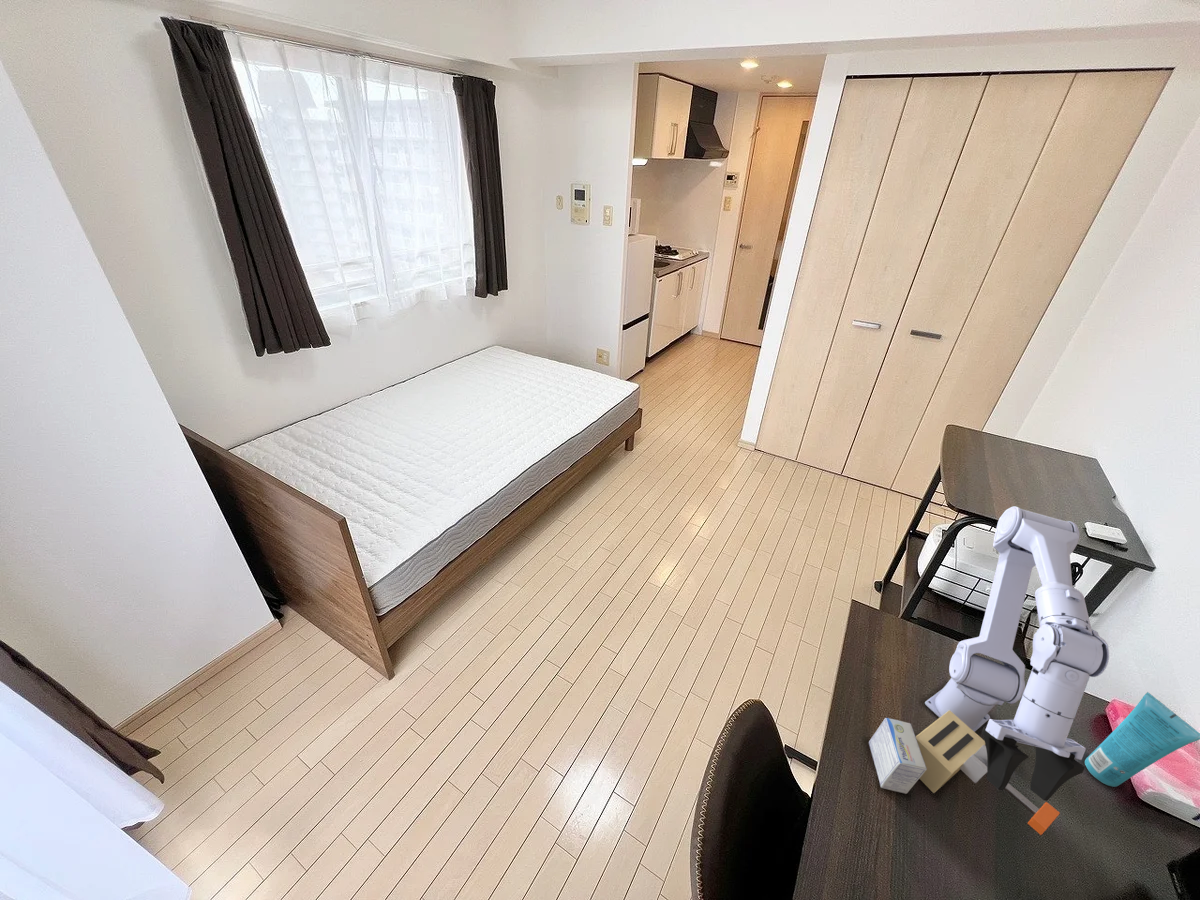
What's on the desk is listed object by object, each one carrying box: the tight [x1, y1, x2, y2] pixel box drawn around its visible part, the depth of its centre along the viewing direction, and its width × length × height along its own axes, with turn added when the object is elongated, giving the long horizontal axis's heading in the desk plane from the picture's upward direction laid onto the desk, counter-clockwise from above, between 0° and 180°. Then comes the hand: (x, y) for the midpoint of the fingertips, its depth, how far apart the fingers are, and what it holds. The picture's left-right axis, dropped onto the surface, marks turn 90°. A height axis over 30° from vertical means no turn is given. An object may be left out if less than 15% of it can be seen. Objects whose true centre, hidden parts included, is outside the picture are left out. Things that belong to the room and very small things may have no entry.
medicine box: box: [868, 717, 927, 795], centre depth 83 cm, size 8×4×9 cm, turn 168°
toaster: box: [915, 710, 987, 794], centre depth 84 cm, size 11×9×10 cm
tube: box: [1084, 691, 1200, 788], centre depth 83 cm, size 7×5×19 cm, turn 20°
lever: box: [978, 757, 1061, 836], centre depth 77 cm, size 5×10×2 cm, turn 29°
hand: (1016, 790), depth 71 cm, fingers open, 7 cm apart
